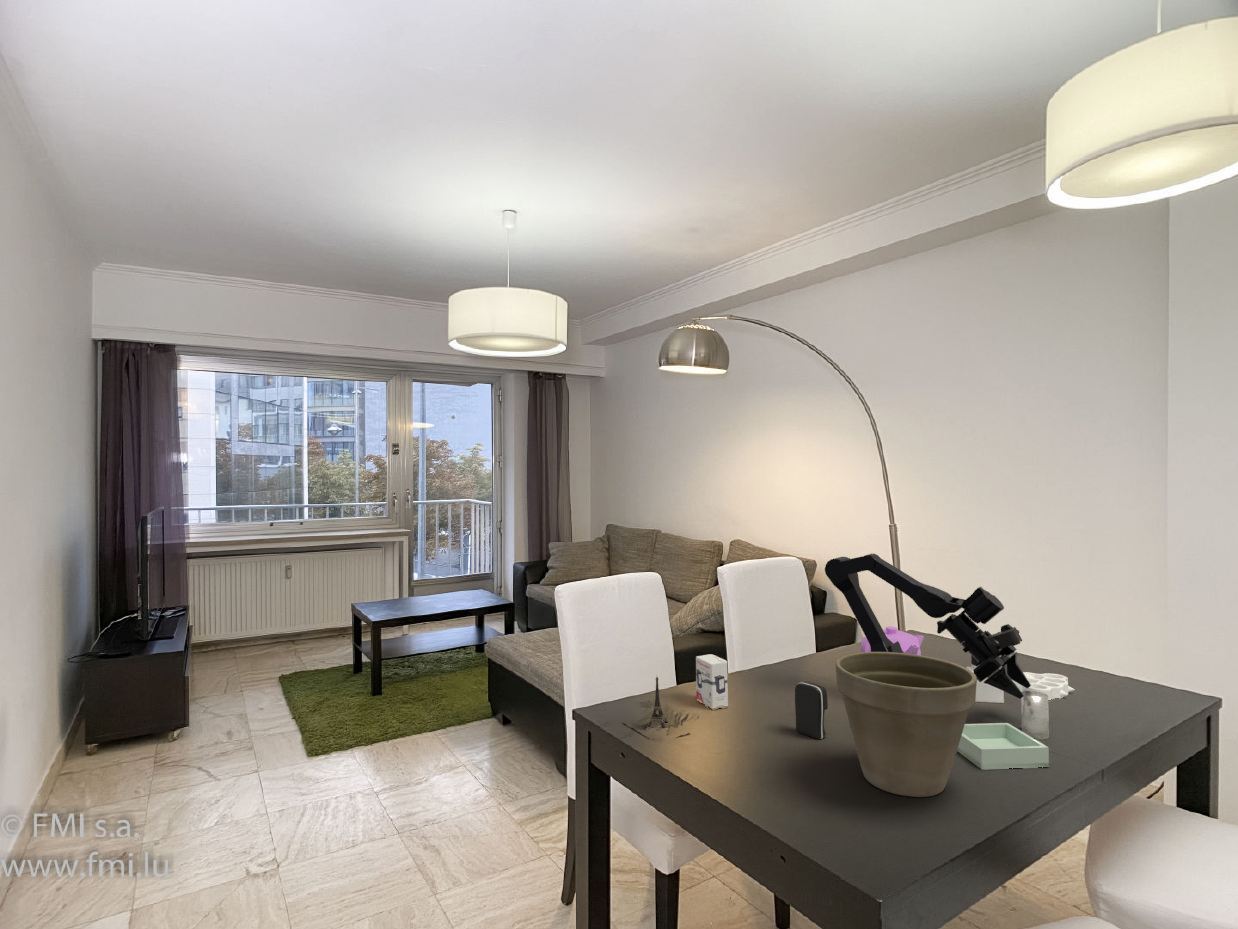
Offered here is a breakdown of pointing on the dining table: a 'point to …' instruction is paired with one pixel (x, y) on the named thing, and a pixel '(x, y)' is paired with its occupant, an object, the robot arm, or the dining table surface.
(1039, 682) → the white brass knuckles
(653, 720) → the eiffel tower figurine
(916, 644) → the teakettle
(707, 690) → the ink box
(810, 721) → the battery charger
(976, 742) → the tray
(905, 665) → the plant pot
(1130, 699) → the dining table surface
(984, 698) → the medicine bottle
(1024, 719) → the can
